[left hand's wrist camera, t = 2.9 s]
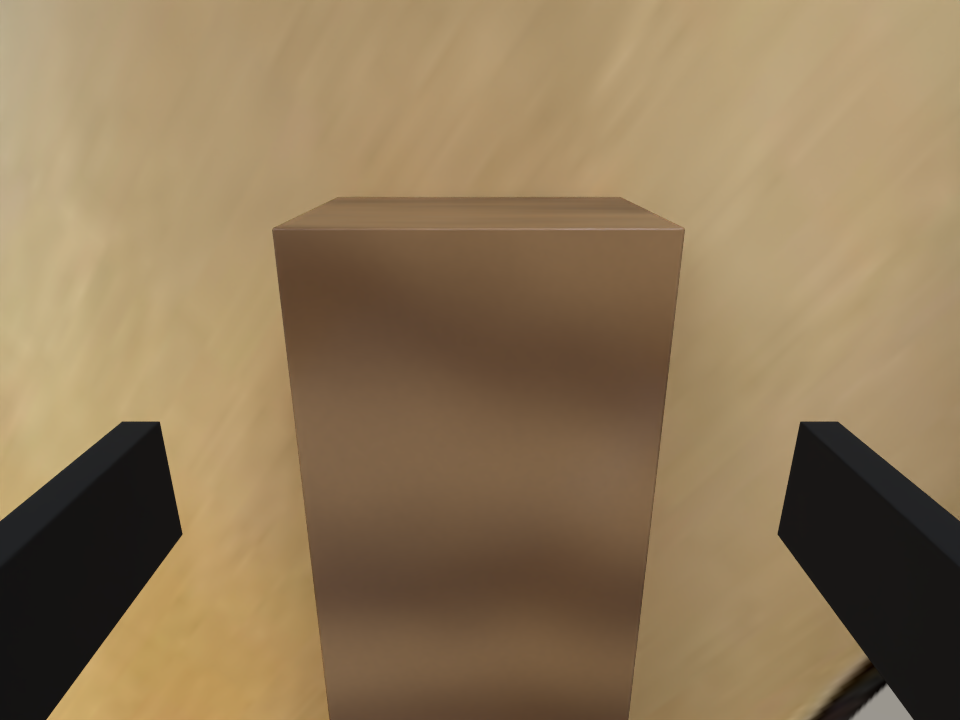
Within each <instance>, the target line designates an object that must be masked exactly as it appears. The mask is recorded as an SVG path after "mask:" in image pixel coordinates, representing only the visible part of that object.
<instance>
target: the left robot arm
mask: <svg viewBox="0 0 960 720" xmlns="http://www.w3.org/2000/svg"><path fill="white" fill-rule="evenodd" d="M181 536H182V530H181V525H180V520H179V515H178V510H177V505H176V500H175V495H174V490H173V485H172V480H171V475H170V470H169V465H168V460H167V455H166V451H165V446H164V441H163V436H162V431H161V426H160V422H121V423H120V424H119V425H118V426H116V427H115V428H114V429H113V430H111V431H110V432H109V433H108V434H107V435H105V436H104V437H103V438H102V439H100V440H99V441H98V442H97V443H96V444H94V445H93V446H92V447H91V448H89V449H88V450H87V451H86V452H85V453H83V454H82V455H81V456H80V457H78V458H77V459H76V460H75V461H73V462H72V463H71V464H70V465H69V466H67V467H66V468H65V469H64V470H62V471H61V472H60V473H59V474H58V475H56V476H55V477H54V478H53V479H51V480H50V481H49V482H48V483H47V484H45V485H44V486H43V487H42V488H40V489H39V490H38V491H37V492H36V493H34V494H33V495H32V496H31V497H29V498H28V499H27V500H26V501H25V502H23V503H22V504H21V505H20V506H18V507H17V508H16V509H15V510H13V511H12V512H11V513H10V514H9V515H7V516H6V517H5V518H4V519H2V520H1V521H0V720H46V719H47V718H48V717H49V715H50V714H51V713H52V711H53V710H54V708H55V707H56V706H57V704H58V703H59V702H60V700H61V699H62V698H63V696H64V695H65V693H66V692H67V691H68V689H69V688H70V687H71V685H72V684H73V683H74V681H75V680H76V679H77V677H78V676H79V674H80V673H81V672H82V670H83V669H84V668H85V666H86V665H87V664H88V662H89V661H90V659H91V658H92V657H93V655H94V654H95V653H96V651H97V650H98V649H99V647H100V646H101V644H102V643H103V642H104V640H105V639H106V638H107V636H108V635H109V634H110V632H111V631H112V630H113V628H114V627H115V625H116V624H117V623H118V621H119V620H120V619H121V617H122V616H123V615H124V613H125V612H126V610H127V609H128V608H129V606H130V605H131V604H132V602H133V601H134V600H135V598H136V597H137V596H138V594H139V593H140V591H141V590H142V589H143V587H144V586H145V585H146V583H147V582H148V581H149V579H150V578H151V576H152V575H153V574H154V572H155V571H156V570H157V568H158V567H159V566H160V564H161V563H162V561H163V560H164V559H165V557H166V556H167V555H168V553H169V552H170V551H171V549H172V548H173V547H174V545H175V544H176V542H177V541H178V540H179V538H180V537H181ZM778 536H779V537H780V538H781V540H782V541H783V542H784V544H785V545H786V547H787V548H788V549H789V551H790V552H791V553H792V555H793V556H794V557H795V559H796V560H797V561H798V563H799V564H800V566H801V567H802V568H803V570H804V571H805V572H806V574H807V575H808V576H809V578H810V579H811V581H812V582H813V583H814V585H815V586H816V587H817V589H818V590H819V591H820V593H821V594H822V596H823V597H824V598H825V600H826V601H827V602H828V604H829V605H830V606H831V608H832V609H833V610H834V612H835V613H836V615H837V616H838V617H839V619H840V620H841V621H842V623H843V624H844V625H845V627H846V628H847V630H848V631H849V632H850V634H851V635H852V636H853V638H854V639H855V640H856V642H857V643H858V644H859V646H860V647H861V649H862V650H863V651H864V653H865V654H866V655H867V657H868V658H869V659H870V661H871V662H872V664H873V665H874V666H875V668H876V669H877V670H878V672H879V673H880V674H881V676H882V677H883V679H884V680H885V681H886V683H887V684H888V685H889V687H890V688H891V689H892V691H893V692H894V693H895V695H896V696H897V698H898V699H899V700H900V702H901V703H902V704H903V706H904V707H905V708H906V710H907V711H908V713H909V714H910V715H911V717H912V718H913V719H914V720H960V521H959V520H958V519H956V518H955V517H954V516H953V515H951V514H950V513H949V512H948V511H946V510H945V509H944V508H943V507H942V506H940V505H939V504H938V503H937V502H935V501H934V500H933V499H932V498H931V497H929V496H928V495H927V494H926V493H924V492H923V491H922V490H921V489H920V488H918V487H917V486H916V485H915V484H913V483H912V482H911V481H910V480H909V479H907V478H906V477H905V476H904V475H902V474H901V473H900V472H899V471H898V470H896V469H895V468H894V467H893V466H891V465H890V464H889V463H888V462H887V461H885V460H884V459H883V458H882V457H880V456H879V455H878V454H877V453H875V452H874V451H873V450H872V449H871V448H869V447H868V446H867V445H866V444H864V443H863V442H862V441H861V440H860V439H858V438H857V437H856V436H855V435H853V434H852V433H851V432H850V431H849V430H847V429H846V428H845V427H844V426H842V425H841V424H840V423H839V422H800V426H799V431H798V436H797V441H796V446H795V451H794V455H793V460H792V465H791V470H790V475H789V480H788V485H787V490H786V495H785V500H784V505H783V510H782V515H781V520H780V525H779V530H778Z"/></svg>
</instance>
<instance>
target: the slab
mask: <svg viewBox="0 0 960 720" xmlns="http://www.w3.org/2000/svg"><path fill="white" fill-rule="evenodd" d="M272 231H273V240H274V249H275V257H276V266H277V274H278V283H279V291H280V300H281V308H282V317H283V325H284V334H285V342H286V351H287V360H288V368H289V377H290V385H291V394H292V402H293V411H294V419H295V428H296V436H297V445H298V454H299V462H300V471H301V479H302V488H303V496H304V505H305V513H306V522H307V530H308V539H309V548H310V556H311V565H312V573H313V582H314V590H315V599H316V607H317V616H318V624H319V633H320V641H321V650H322V659H323V667H324V676H325V684H326V693H327V701H328V710H329V718H330V720H628V717H629V709H630V700H631V691H632V683H633V674H634V665H635V657H636V648H637V639H638V631H639V622H640V613H641V605H642V596H643V587H644V579H645V570H646V561H647V553H648V544H649V535H650V527H651V518H652V509H653V501H654V492H655V483H656V475H657V466H658V457H659V449H660V440H661V431H662V423H663V414H664V405H665V397H666V388H667V379H668V371H669V362H670V353H671V345H672V336H673V327H674V319H675V310H676V301H677V293H678V284H679V275H680V267H681V258H682V249H683V241H684V232H685V230H684V228H683V227H681V226H679V225H677V224H675V223H672V222H670V221H668V220H666V219H664V218H662V217H660V216H658V215H656V214H654V213H652V212H650V211H648V210H646V209H644V208H642V207H639V206H637V205H635V204H633V203H631V202H629V201H627V200H625V199H623V198H621V197H337V198H335V199H333V200H331V201H329V202H327V203H325V204H323V205H320V206H318V207H316V208H314V209H312V210H310V211H308V212H306V213H304V214H302V215H299V216H297V217H295V218H293V219H291V220H289V221H287V222H285V223H283V224H281V225H278V226H276V227H274V228H273V230H272Z"/></svg>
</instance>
